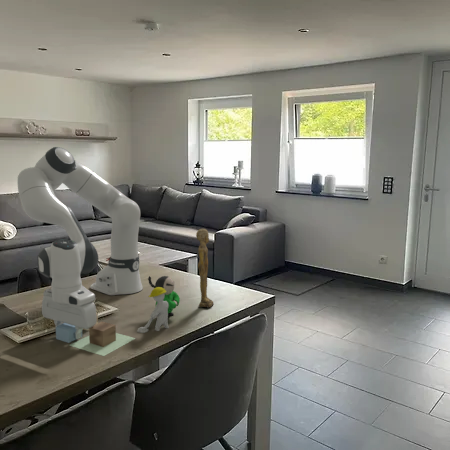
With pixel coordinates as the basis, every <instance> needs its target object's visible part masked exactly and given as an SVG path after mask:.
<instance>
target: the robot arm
mask: <svg viewBox="0 0 450 450" xmlns="http://www.w3.org/2000/svg"><path fill="white" fill-rule="evenodd" d="M62 184H63V185H64V186H65V187H67V188H68V189H69V190H70V191H72V192H73V193H74V194H76V195H77V196H79V197H80V198H82V200H84V201H85V202H87V203H89V204H90V206H93V207H94V208H95V209H98V210H99V211H100V212H101V213H103V214H105V215H106V216H108V217H109V218H110V219H111V236H110V257H107V258H106V259H105V261H106V262H108V263H107V265H106V266H105V267H103V268H102V269H101V270H99V271H98V272H97V274H96V277H95V282H93V283H92V284H91V285H90V286H89V288H90V290H89V289H88V288H86V287H85V286H84V285H83V283H82V282H83V281H82V278H81V274H91V272H93V270H94V269H95V268H96V267H97V266H98V264H99V254H98V250H97V249H96V247H95V245H94V244H93V243H92V242H91V241H90V239H89V238H88V236H87V235H86V233H85V231H84V229H83V227H82V225H81V224H80V221H79V220H78V218H77V217H76V214H75V213H74V211H73V210H72V208H71V207H70V206H68V205H66V204H64V203H63V202H62V201H61V200H60V199H59V198H58V197H57V196H56V194H55V191H56V190H57V189H58V188H60V186H62ZM17 192H18V196H19V200H20V204H21V208H22V209H23V212H24V213H25V214H26V216H28V217H29V218H30V219H31V220H33V221H37V222H39V223H44V224H45V223H47V224H51V225H54V226H58V227H59V228H60V227H61V228H62V229H64V230H65V232H66V233H67V236H68V237H69V239H66V238H64V239H63V238H60V239H57V240H55V241H53V242H52V243H51V245H50V246H48V247H45V248H43V249H42V250H40V252H39V253H38V254H37V270H38V272H39V273H40V274H41V275H42V276H44V277H46V278H51V279H52V280H51V284H50V287H51V288H46V289H45V290H44V291H43V297H42V300H41V301H42V302H41V314H42V316H43V317H44V319H45V318H46V319H49V320H53V323H54V325H55V327H56V326H58V325H61V324H63V323H67V324H70V325H74V326H75V329H77V330H76V332H75V333H73V335H74V336H73V337H74V338H76V340H80V339H82V337H81V332H82V333H83V331H84V330H83V328H85V329H89V328H91V327H93V326H94V325H95V324H96V321H97V317H96V313H97V307H96V304H95V303H94V301H95V300H96V294H95V293H94V292H92V291H91V289H92V290H95V291H97V292H99V293H102V294H105V295H108V296H115V295H129V294H130V295H131V294H135V293H138V292H140V291H142V290H143V284H142V280H141V275H140V256H139V241H138V240H139V231H140V229H139V228H140V220H141V208H140V206H139V205H138V203H137V202H136V201H134V200H133V199H131V198H129V197H128V196H126V195H125V194H124V193H122V192H121V191H120V190H119V189H117V188H116V187H115V186H113V185H112V184H110V182H108V181H107V180H106V179H104V178H103V177H101V175H98V174H97V173H96V172H94V170H92V169H91V168H89V167H87V166H86V165H85V164H83V163H81V162H80V161H77V160H76V159H75V158H74V156H73V154H72V153H71V152H70V150H67V149H66V148H64V147H59V146H54V147H51V148H50V149H49V150H47V151H46V152H45V154H44V155H43V156H42V157H40V158H39V160H38V161H37V162H36V163H35V166H33V167H31V166H29V167H27V168H24V169H23V170H21V171H20V172H19V174H18V175H17Z"/></svg>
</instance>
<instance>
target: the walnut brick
mask: <svg viewBox="0 0 450 450" xmlns="http://www.w3.org/2000/svg"><path fill="white" fill-rule="evenodd" d="M116 326H117V325H116V324H113V323H109V322H106V321H100V322H98V324H95V325H94V326H93V327H91V328H89V331H88V334H89V335H88V336H89V340H90V343H91V344H95V345H98V346H101V347H104V346H106V345H108V344H110V343H112V342H114V341H116V333H117V330H116Z"/></svg>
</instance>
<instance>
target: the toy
mask: <svg viewBox="0 0 450 450" xmlns="http://www.w3.org/2000/svg"><path fill="white" fill-rule="evenodd" d="M147 280H148V284H149V285H150V287H151V288H153V289H154V288H156V287H162V288H164V289H165V290H166V292H165V296H164V299H163V301H167V302H168V305H169V306H168V317H171V316H174V315H175V314H174V312H173V310H174V309H176V308H177V307H178V306H179V304H180V301H181V300H180V299H181V298H180V295H179V294H178V293H177V292H176V291H174V290H175V281H174V280H173V279H172V278H171V277H170V276H168V275H163V276H160V277H158V279H156V281H155V284H153V282H152V277H151V276H148V278H147ZM156 304H157V301H156V300H155V307H156ZM155 307H154V308H155Z"/></svg>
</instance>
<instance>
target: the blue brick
mask: <svg viewBox="0 0 450 450" xmlns="http://www.w3.org/2000/svg"><path fill="white" fill-rule="evenodd" d="M76 330H77V329H75V326H74V325H70V324H67V323H63V322H62V324H61V325H58V326H56V325H55V339H56V340H58V341H62V342H64V343H68V344H69V343H73V342H74V341H76V340H77V339H76V338H74V337H73V336H74V335H73V333H75V332H76ZM82 337H83V331H82V332H81V338H82Z"/></svg>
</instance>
